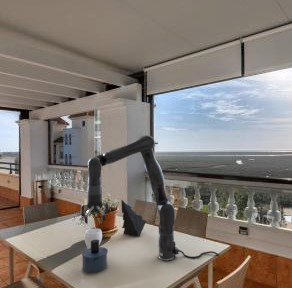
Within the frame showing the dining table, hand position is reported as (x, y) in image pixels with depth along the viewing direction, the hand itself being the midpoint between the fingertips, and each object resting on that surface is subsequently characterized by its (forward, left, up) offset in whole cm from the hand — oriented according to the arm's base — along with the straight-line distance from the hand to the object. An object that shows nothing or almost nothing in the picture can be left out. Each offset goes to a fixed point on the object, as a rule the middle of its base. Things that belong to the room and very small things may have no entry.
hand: (94, 222), depth 135 cm
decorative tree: (-31, -42, -25) cm, 58 cm away
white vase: (-1, -18, -25) cm, 31 cm away
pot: (0, 0, -25) cm, 25 cm away
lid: (0, 0, -17) cm, 17 cm away
